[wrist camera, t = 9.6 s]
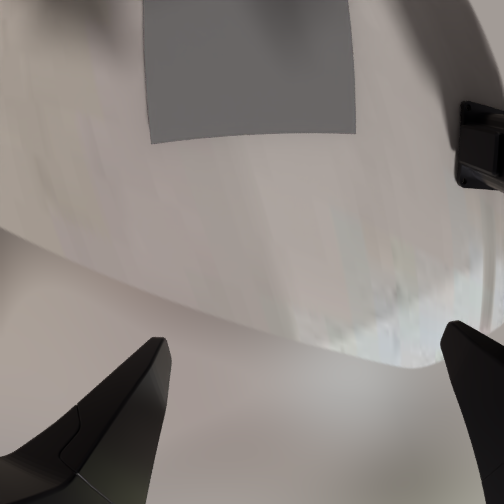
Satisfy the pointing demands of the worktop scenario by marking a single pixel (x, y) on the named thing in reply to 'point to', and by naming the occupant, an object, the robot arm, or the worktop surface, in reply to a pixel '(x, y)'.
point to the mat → (248, 68)
